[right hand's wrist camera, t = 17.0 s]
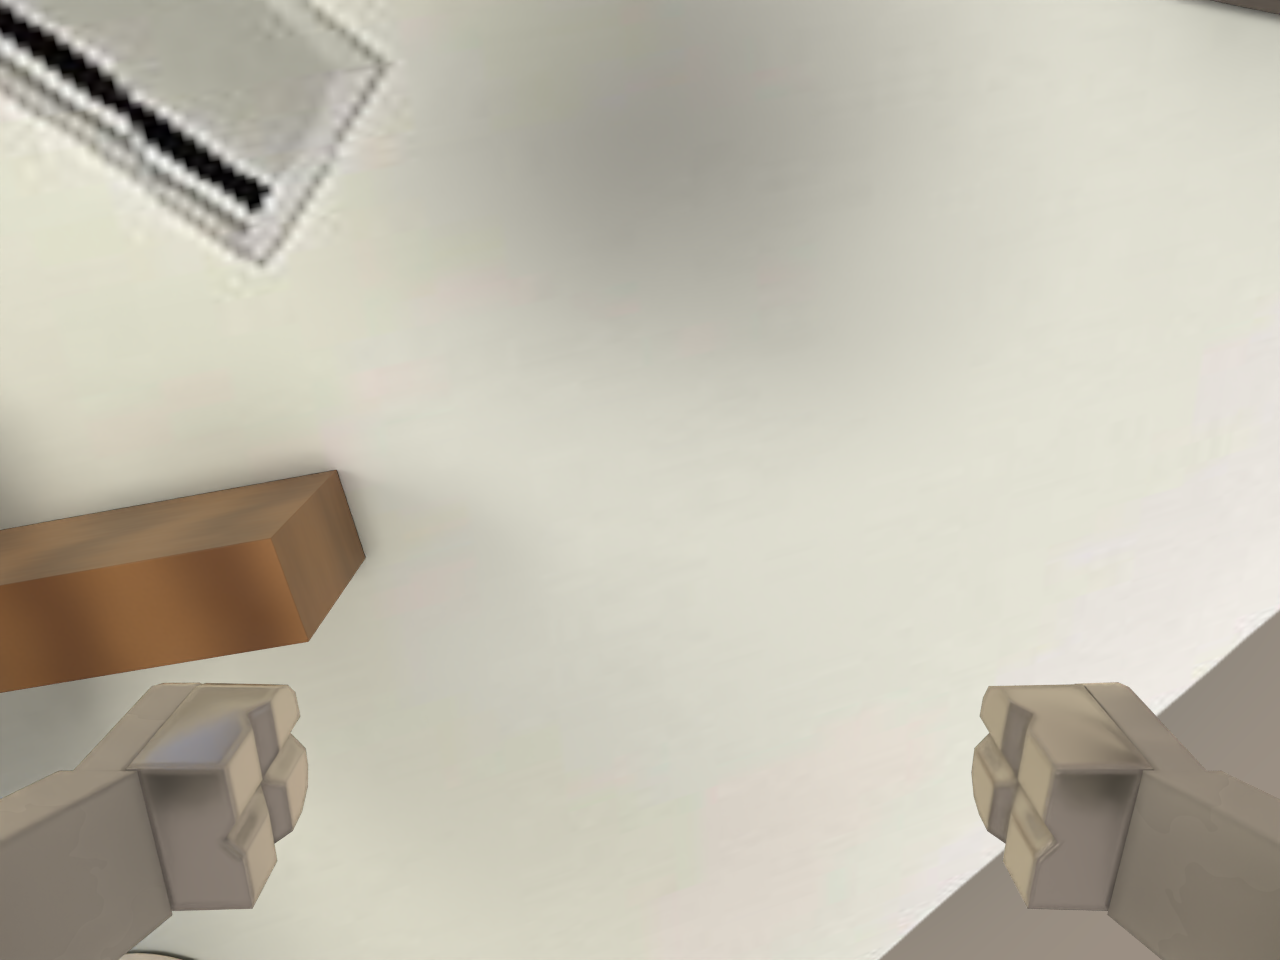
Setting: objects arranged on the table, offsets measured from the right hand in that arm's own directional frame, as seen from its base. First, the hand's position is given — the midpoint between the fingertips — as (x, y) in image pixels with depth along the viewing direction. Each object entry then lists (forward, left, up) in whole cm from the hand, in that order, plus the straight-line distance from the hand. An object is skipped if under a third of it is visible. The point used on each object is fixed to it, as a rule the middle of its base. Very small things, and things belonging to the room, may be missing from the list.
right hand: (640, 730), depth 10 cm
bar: (+14, -27, -36) cm, 47 cm away
